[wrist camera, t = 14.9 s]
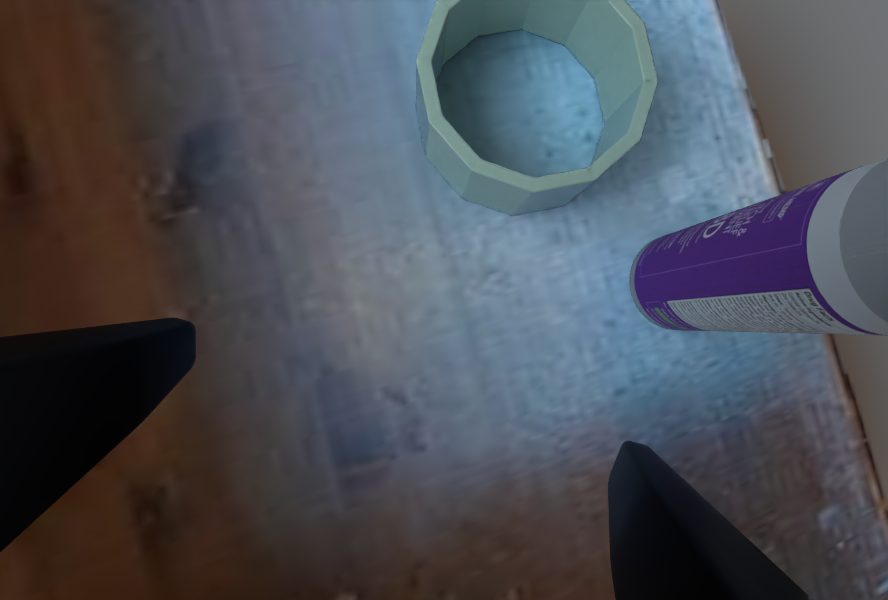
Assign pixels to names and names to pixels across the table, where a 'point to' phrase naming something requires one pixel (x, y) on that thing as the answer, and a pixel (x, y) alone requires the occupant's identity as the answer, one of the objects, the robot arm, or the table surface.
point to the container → (777, 264)
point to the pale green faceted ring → (589, 40)
